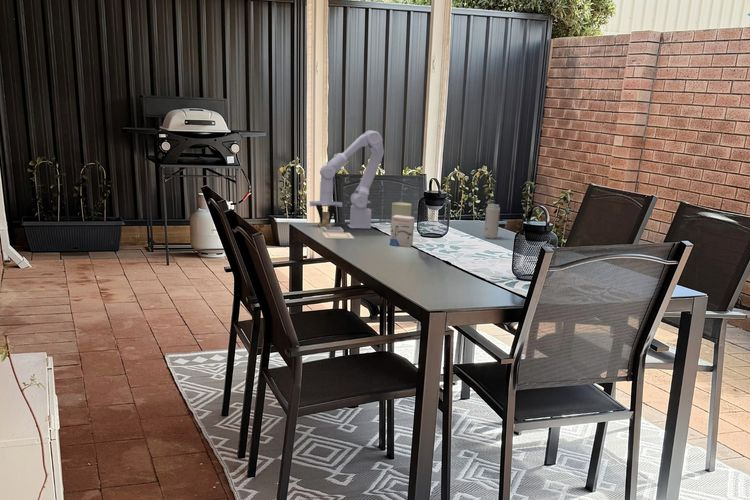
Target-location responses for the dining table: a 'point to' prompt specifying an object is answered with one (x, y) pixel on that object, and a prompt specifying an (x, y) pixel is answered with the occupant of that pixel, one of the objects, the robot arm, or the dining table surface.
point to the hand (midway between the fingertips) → (325, 222)
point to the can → (401, 209)
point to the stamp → (325, 220)
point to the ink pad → (333, 229)
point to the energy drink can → (492, 221)
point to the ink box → (402, 231)
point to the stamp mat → (337, 235)
